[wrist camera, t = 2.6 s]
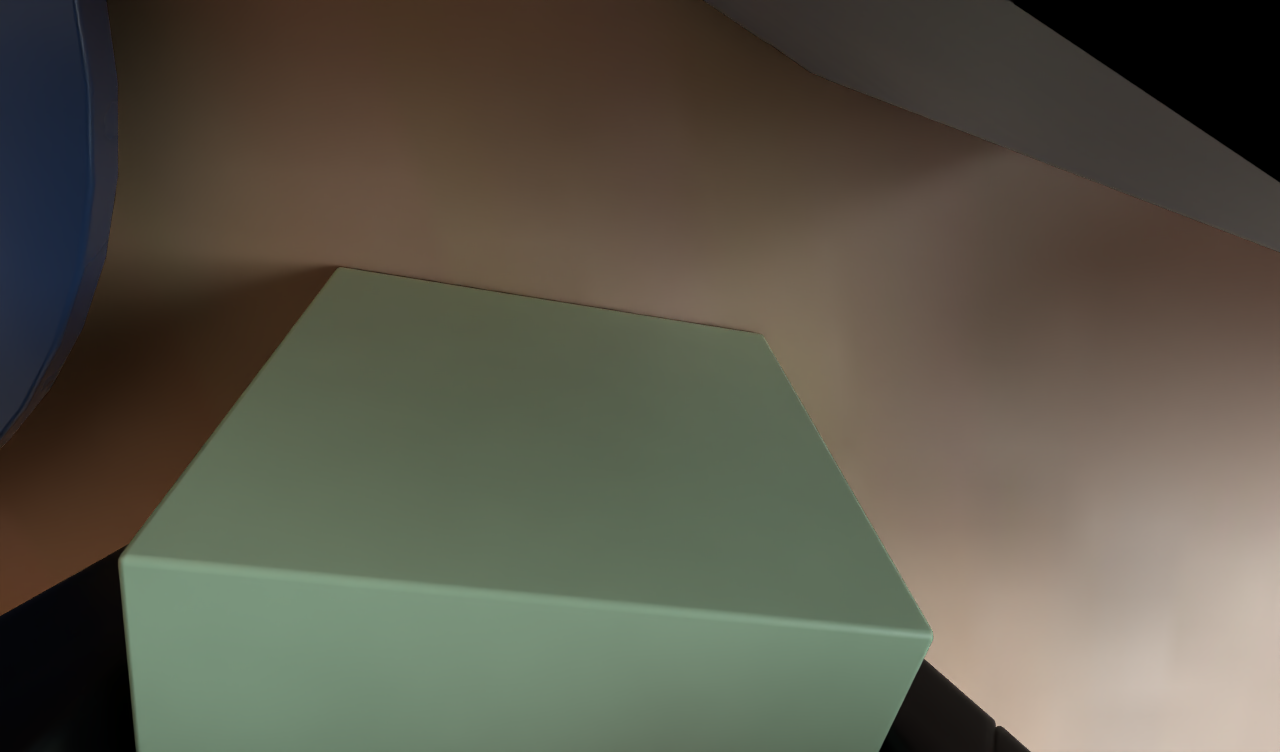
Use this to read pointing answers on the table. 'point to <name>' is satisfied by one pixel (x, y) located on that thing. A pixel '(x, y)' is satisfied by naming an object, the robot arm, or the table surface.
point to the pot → (1073, 86)
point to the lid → (51, 187)
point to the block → (513, 545)
